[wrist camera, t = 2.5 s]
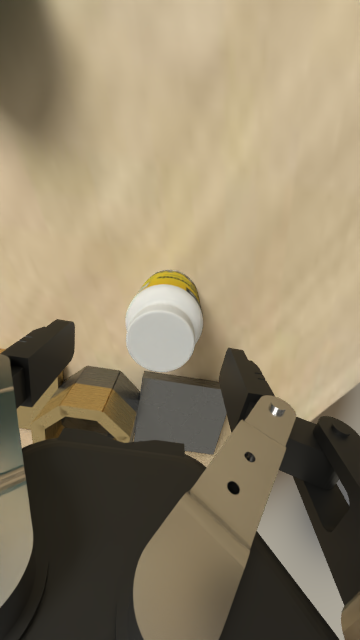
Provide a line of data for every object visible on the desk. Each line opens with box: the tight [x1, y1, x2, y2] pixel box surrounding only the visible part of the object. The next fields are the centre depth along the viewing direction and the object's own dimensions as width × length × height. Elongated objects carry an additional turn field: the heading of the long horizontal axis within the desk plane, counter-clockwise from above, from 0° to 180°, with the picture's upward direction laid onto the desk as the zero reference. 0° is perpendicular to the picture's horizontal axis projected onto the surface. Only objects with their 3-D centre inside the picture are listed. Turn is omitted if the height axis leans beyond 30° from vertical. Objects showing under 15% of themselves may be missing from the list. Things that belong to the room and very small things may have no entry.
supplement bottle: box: [126, 270, 203, 372], centre depth 17 cm, size 5×5×10 cm
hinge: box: [0, 349, 227, 454], centre depth 24 cm, size 29×10×6 cm, turn 80°
